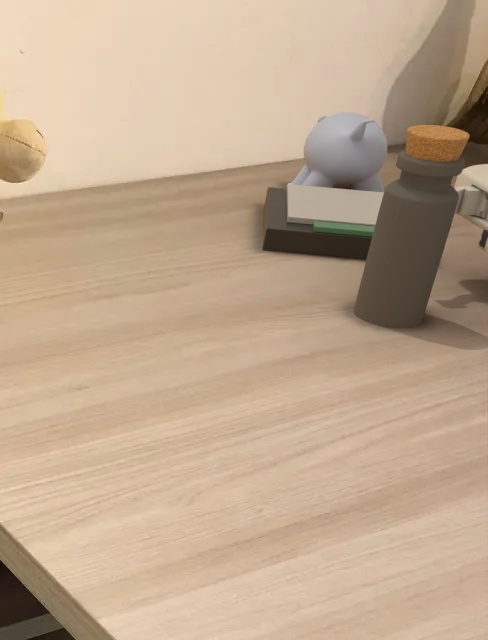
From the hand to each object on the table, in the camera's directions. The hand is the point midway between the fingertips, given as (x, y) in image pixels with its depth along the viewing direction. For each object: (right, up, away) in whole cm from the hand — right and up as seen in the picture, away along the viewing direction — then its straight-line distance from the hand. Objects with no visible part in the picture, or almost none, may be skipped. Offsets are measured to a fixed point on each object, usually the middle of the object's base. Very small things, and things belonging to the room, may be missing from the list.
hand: (455, 222), depth 86 cm
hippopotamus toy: (+1, +17, +34) cm, 38 cm away
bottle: (-4, -7, +5) cm, 9 cm away
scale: (-2, +7, +22) cm, 23 cm away
